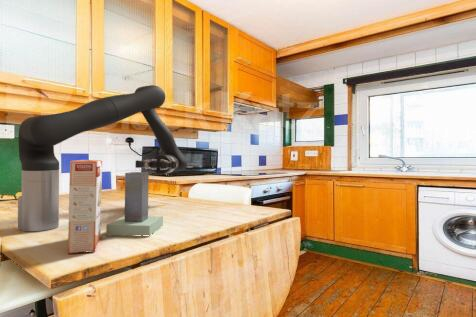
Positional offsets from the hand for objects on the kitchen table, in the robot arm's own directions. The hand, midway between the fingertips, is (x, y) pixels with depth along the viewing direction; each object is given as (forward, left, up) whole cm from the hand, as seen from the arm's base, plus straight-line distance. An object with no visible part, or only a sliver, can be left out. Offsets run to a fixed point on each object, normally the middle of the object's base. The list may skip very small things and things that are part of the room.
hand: (150, 164), depth 98 cm
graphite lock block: (+1, -14, -16) cm, 21 cm away
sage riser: (+1, -14, -19) cm, 23 cm away
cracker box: (-6, -28, -19) cm, 34 cm away
